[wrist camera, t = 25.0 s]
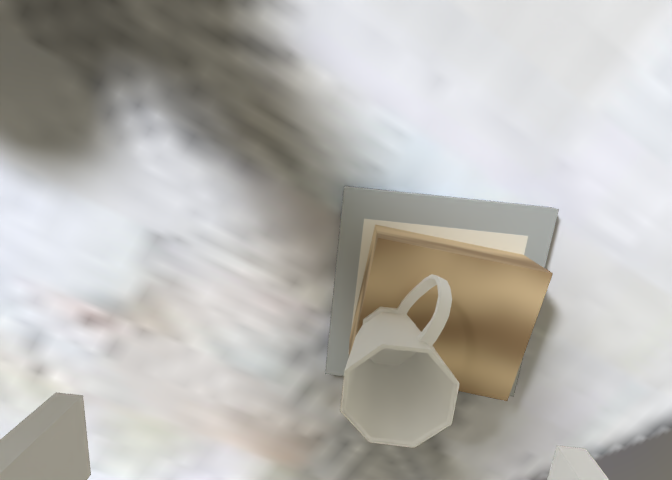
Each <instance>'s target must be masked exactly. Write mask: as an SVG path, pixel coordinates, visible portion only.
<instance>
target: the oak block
mask: <svg viewBox="0 0 672 480" xmlns="http://www.w3.org/2000/svg"><path fill="white" fill-rule="evenodd" d="M431 274H433V275H437V276H439V277H441V278H443V279H445V280H447V281H448V284H449V286H450V288H451V295H452V304H451V309H450V314H449V317H448V320H447V322H446V324H445V327H444V328H443V330H442V332H441V333H440V335H439V337H438V338H437V340H436V341H435V343H434V344H433V347H434V348H435V350H436V351H437V353H438V354H439V356H440V357H441V358H442V360H443V361H444V363H445V364H446V365H447V367H448V368H449V369H450V371H451V372H452V373H453V375H454V376H455V378H456V379H457V381H458V382H459V383H460V384H459V390H458V391H461V392H466V393H471V394H476V395H481V396H485V397H490V398H495V399H500V400H505V401H507V400H508V397H509V395H510V392H511V389H512V386H513V383H514V381H515V378H516V375H517V372H518V369H519V367H520V364H521V361H522V358H523V355H524V353H525V350H526V347H527V344H528V341H529V339H530V336H531V333H532V330H533V327H534V325H535V322H536V319H537V316H538V313H539V311H540V308H541V305H542V302H543V299H544V297H545V294H546V291H547V288H548V285H549V283H550V280H551V277H552V274H553V273H551V272H550V271H548V270H547V269H545V268H544V267H542V266H540V265H539V264H537V263H536V262H534V261H533V260H531V259H529V258H528V257H526V256H525V255H522V254H517V253H513V252H508V251H503V250H498V249H493V248H488V247H483V246H478V245H473V244H468V243H464V242H459V241H454V240H449V239H444V238H439V237H434V236H429V235H424V234H419V233H415V232H410V231H405V230H400V229H395V228H390V227H385V226H380V225H375V228H374V232H373V237H372V241H371V245H370V250H369V254H368V259H367V263H366V268H365V272H364V276H363V281H362V285H361V290H360V294H359V298H358V303H357V307H356V312H355V316H354V321H353V325H352V329H351V334H350V341H349V355H350V353H351V350H352V346H353V343H354V340H355V337H356V335H357V333H358V331H359V330H360V328H361V327H362V325H363V319H364V318H365V317H367V316H368V315H369V314H371V313H372V312H374V311H375V310H376V309H378V308H379V307H389V308H398V306H399V304H400V303H401V301H402V300H403V299H404V298H405V297H406V295H407V294H408V293H409V292H410V291H411V290H412V289H413V288H414V287H415V286H416V285H418V284H419V283H420V282H421V281H422V280H423V279H424V278H426V277H428V276H430V275H431ZM437 299H438V288H437V285H436V286H434V287H432V288H431V289H430V290H429V291H427V292H426V293H425V294H424V295H423V296H421V297H420V298H419V299H418V300H417V301H416V302H415V303H414V304H413V305H412V307H411V308H410V309H409V311H408V312H407V315H408V316H409V317H410V319H411V320H412V321H413V322H414V323H415V325H416V326H417V327H418V329H419V330H420V331H421V332H422V331H423V329H424V328H425V327H426V325H427V324H428V323H429V321H430V320H431V319H432V316H433V314H434V312H435V308H436V304H437Z"/></svg>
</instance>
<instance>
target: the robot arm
mask: <svg viewBox="0 0 672 480" xmlns="http://www.w3.org/2000/svg"><path fill="white" fill-rule="evenodd" d="M90 475H91V471H90V461H89V451H88V441H87V431H86V421H85V411H84V401H83V395H74V394H65V393H55V394H54V395H52V396H51V397H50V398H49V399H48V400H47V401H45V402H44V403H43V404H42V405H41V406H39V407H38V408H37V409H36V410H35V411H34V412H32V413H31V414H30V415H29V416H28V417H26V418H25V419H24V420H23V421H22V422H21V423H19V424H18V425H17V426H16V427H15V428H14V429H12V430H11V431H10V432H9V433H8V434H6V435H5V436H4V437H3V438H2V439H1V440H0V480H87V479H88V478H89V476H90ZM547 480H609V479H608V478H607V476H606V475H605V474H604V472H603V471H602V470H601V469H600V467H599V466H598V464H597V463H596V462H595V460H594V459H593V458H592V457H591V455H590V454H589V453H588V451H587V450H586V449H584V448H574V447H565V446H557V448H556V451H555V455H554V458H553V462H552V465H551V468H550V472H549V475H548V479H547Z"/></svg>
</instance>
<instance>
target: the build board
mask: <svg viewBox="0 0 672 480" xmlns="http://www.w3.org/2000/svg"><path fill="white" fill-rule="evenodd" d="M558 211H559V209H556V208H552V207H544V206H534V205H525V204H515V203H505V202H495V201H486V200H476V199H466V198H457V197H447V196H437V195H427V194H418V193H408V192H398V191H389V190H379V189H369V188H359V187H350V186H344V192H343V202H342V212H341V222H340V232H339V241H338V251H337V261H336V271H335V281H334V291H333V301H332V311H331V321H330V330H329V340H328V350H327V360H326V370H325V374H330V375H339V376H344V370H345V367H346V364H347V361H348V358H349V341H350V334H351V329H352V325H353V321H354V316H355V312H356V307H357V303H358V298H359V294H360V290H361V285H362V281H363V276H364V272H365V268H366V263H367V259H368V254H369V250H370V245H371V241H372V237H373V232H374V228H375V225H380V226H385V227H390V228H395V229H400V230H405V231H410V232H415V233H419V234H424V235H429V236H434V237H439V238H444V239H449V240H454V241H459V242H464V243H468V244H473V245H478V246H483V247H488V248H493V249H498V250H503V251H508V252H513V253H517V254H522V255H525V256H526V257H528V258H529V259H531V260H533V261H534V262H536V263H537V264H539V265H540V266H542V267H544V268H545V264H546V260H547V256H548V252H549V248H550V244H551V240H552V236H553V231H554V227H555V223H556V219H557V215H558ZM522 360H523V358H522ZM521 364H522V361H521ZM521 364H520V367H519V369H518V372H517V375H516V378H515V381H514V383H513V386H512V389H511V392H510V395H509V396H513V397H514V393H515V388H516V384H517V380H518V376H519V372H520V368H521Z"/></svg>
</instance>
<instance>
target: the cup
mask: <svg viewBox="0 0 672 480" xmlns="http://www.w3.org/2000/svg"><path fill="white" fill-rule="evenodd" d="M436 285H437V288H438V299H437V304H436V308H435V312H434V314H433V316H432V319H431V320H430V321H429V323H428V324H427V325H426V327H425V328H424V329H423V331H422V332H421V331H420V330H419V329H418V327H417V326H416V325H415V323H414V322H413V321H412V320H411V319H410V317H409V316H408V315H407V312H408V311H409V309H410V308H411V307H412V305H413V304H414V303H415V302H416V301H417V300H418V299H419V298H420V297H421V296H423V295H424V294H425V293H426V292H427V291H429V290H430V289H431V288H432V287H434V286H436ZM451 304H452V295H451V288H450V286H449V284H448V281H447V280H445V279H443V278H441V277H439V276H437V275H433V274H431V275H430V276H428V277H426V278H424V279H423V280H422V281H421V282H420V283H419V284H418V285H416V286H415V287H414V288H413V289H412V290H411V291H410V292H409V293H408V294H407V295H406V297H405V298H404V299H403V300H402V301H401V303H400V304H399V306H398V308H389V307H379V308H378V309H376V310H375V311H374V312H372V313H371V314H369V315H368V316H367V317H365V318H364V319H363V325H362V327H361V328H360V330H359V331H358V333H357V335H356V337H355V340H354V343H353V346H352V350H351V353H350V355H349V358H348V361H347V364H346V367H345V370H344V380H343V389H342V398H341V408H340V412H341V413H342V414H343V415H344V416H345V417H346V418H347V419H348V420H349V421H350V422H351V424H352V425H353V426H354V427H355V428H356V429H357V430H358V431H359V432H360V433H361V434H362V435H363V436H364V438H365V439H366V440H367V441H368V442H370V443H378V444H387V445H395V446H403V447H412V448H415V447H416V446H418V445H420V444H421V443H423V442H424V441H426V440H428V439H429V438H431V437H432V436H434V435H436V434H437V433H439V432H440V431H442V430H444V429H445V428H447V427H448V426H450V425H452V421H453V416H454V410H455V405H456V400H457V395H458V390H459V384H460V383H459V382H458V381H457V379H456V378H455V376H454V375H453V373H452V372H451V371H450V369H449V368H448V367H447V365H446V364H445V363H444V361H443V360H442V358H441V357H440V356H439V354H438V353H437V351H436V350H435V348H434V347H433V344H434V343H435V341H436V340H437V338H438V337H439V335H440V333H441V332H442V330H443V328H444V327H445V324H446V322H447V320H448V317H449V314H450V309H451Z"/></svg>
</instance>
